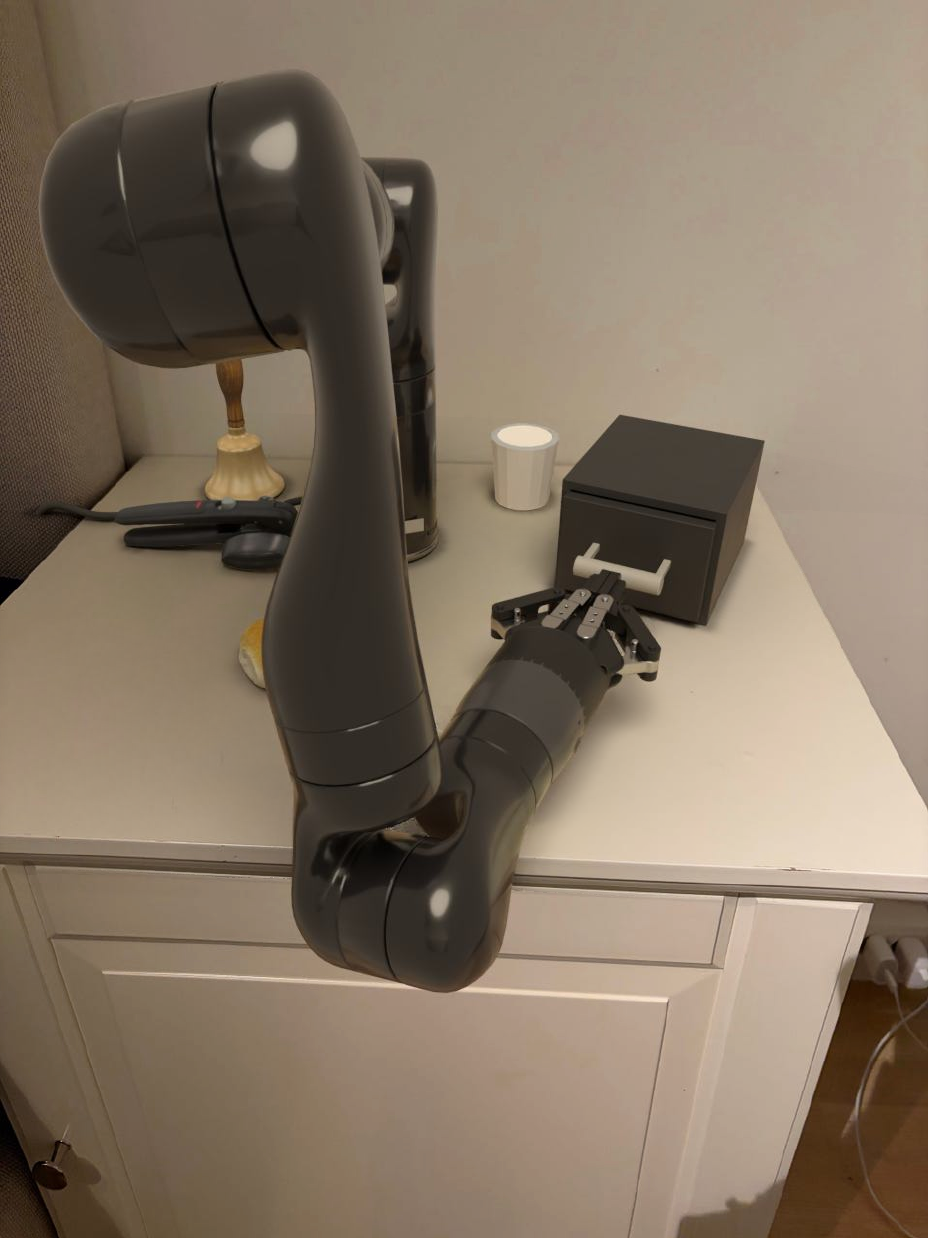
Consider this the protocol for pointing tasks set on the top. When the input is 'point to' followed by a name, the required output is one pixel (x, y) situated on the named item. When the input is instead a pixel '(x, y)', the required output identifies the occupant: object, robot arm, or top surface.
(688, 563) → the cabinet drawer
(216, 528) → the can opener
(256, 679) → the bread roll
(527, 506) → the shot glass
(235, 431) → the hand bell
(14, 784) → the top surface
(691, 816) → the top surface
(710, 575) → the single drawer cabinet
